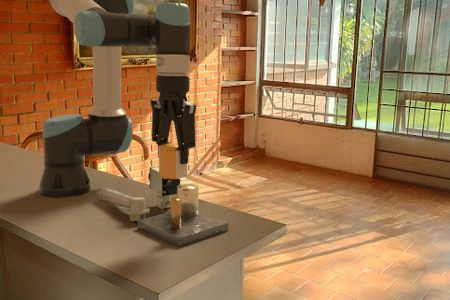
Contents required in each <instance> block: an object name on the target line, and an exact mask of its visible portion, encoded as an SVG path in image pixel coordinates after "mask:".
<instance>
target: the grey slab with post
mask: <svg viewBox="0 0 450 300" xmlns="http://www.w3.org/2000/svg"><path fill="white" fill-rule="evenodd" d="M199 188H200V187H199V185H197V184H194V183H193V184H192V183H180V185H178V186H177V194H176V197H172V199H171V208H170V211H168V212H164V213H161V214H158V215H152V216H149V218H145V219H141V220H138V221H136V222H137V229H139V230H141V231H143V232H146V233H147V234H150V235H152V236H154V237H156V238H159V239H161V240H163V241H165V242H168V243H170V244H173V245H175V246H177V247H182V246H186V245H188V244H192V243H194V242H197V241H200V240H202V239H206V238H209V237H212V236H215V235H218V234H221V233H224V232H226V231H229V221H226V220H223V219H221V218H217V217H214V216H211V215H209V214H205V213H203V212H200V211H199V193H200V192H199V190H200V189H199Z"/></svg>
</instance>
